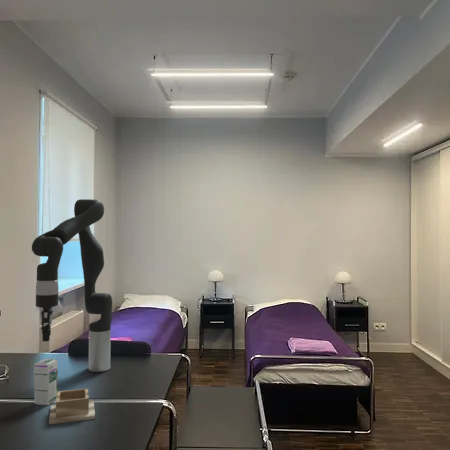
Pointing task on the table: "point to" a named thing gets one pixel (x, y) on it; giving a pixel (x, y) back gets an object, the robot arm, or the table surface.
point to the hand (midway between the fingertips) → (46, 338)
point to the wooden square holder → (72, 407)
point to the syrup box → (45, 381)
